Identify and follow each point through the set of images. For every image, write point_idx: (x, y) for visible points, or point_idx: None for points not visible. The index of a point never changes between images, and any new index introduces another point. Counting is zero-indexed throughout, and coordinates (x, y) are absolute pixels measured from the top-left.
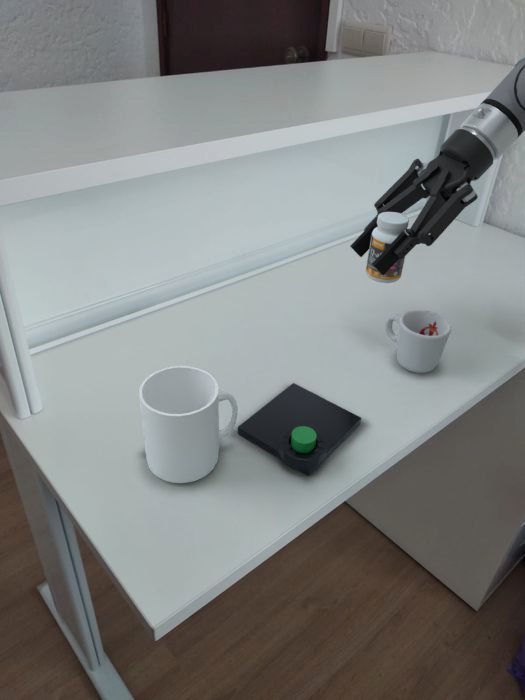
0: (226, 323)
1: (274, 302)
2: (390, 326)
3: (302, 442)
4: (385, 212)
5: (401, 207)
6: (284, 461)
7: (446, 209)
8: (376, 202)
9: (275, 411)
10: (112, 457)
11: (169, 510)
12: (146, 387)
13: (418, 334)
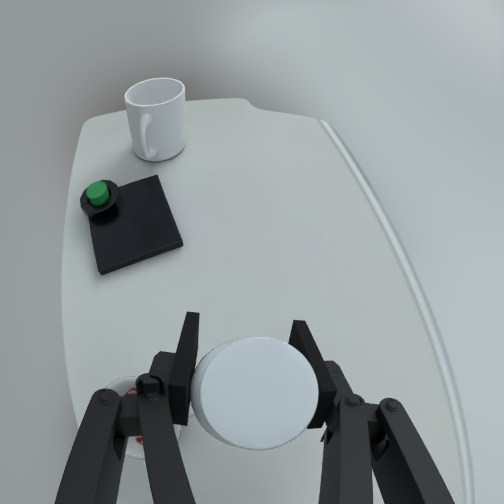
0: (331, 241)
1: (362, 314)
2: None
3: (91, 184)
4: (312, 390)
5: (328, 467)
6: None
7: (63, 489)
8: (400, 406)
9: (154, 206)
10: (188, 120)
11: (129, 132)
12: (177, 85)
13: (114, 382)
